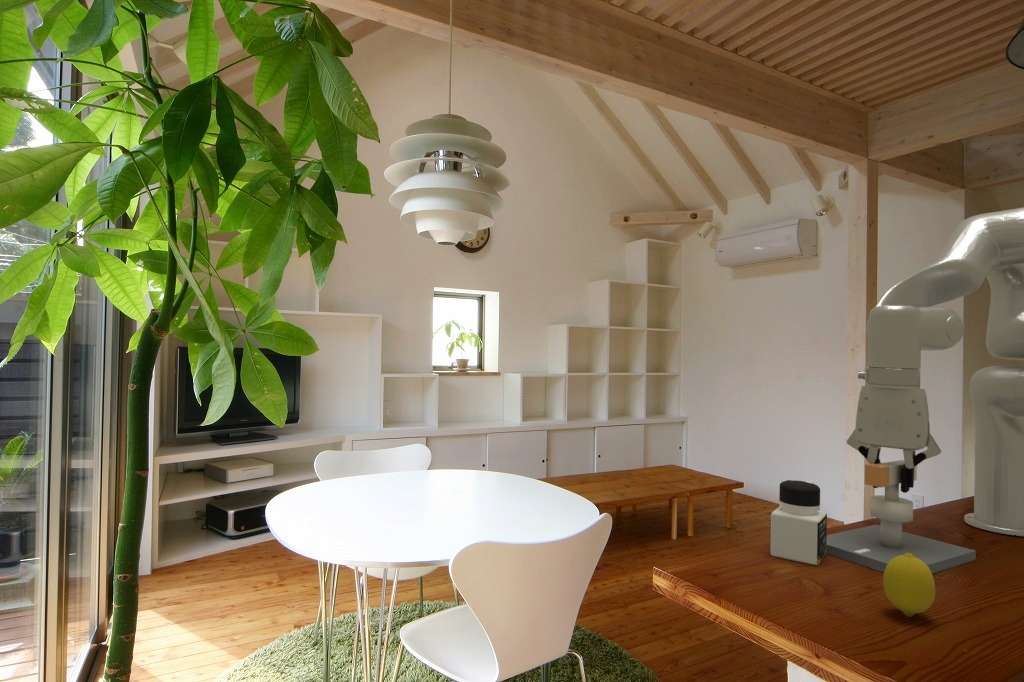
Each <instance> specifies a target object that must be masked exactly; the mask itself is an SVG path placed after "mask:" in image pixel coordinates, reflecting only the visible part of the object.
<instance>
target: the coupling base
mask: <svg viewBox="0 0 1024 682" xmlns="http://www.w3.org/2000/svg"><path fill="white" fill-rule="evenodd" d="M976 551H977V550H975V549H970V548H967V547H964V546H959V545H957V544H956V545H955V544H952V543H948V542H944V541H940V540H936V539H933V538H929V537H925V536H921V535H918V534H913V533H910V532H907V531H903V522H892V521H886V520H882V519H880V524H873V525H869V526H863V527H858V528H853V529H849V530H845V531H840V532H837V533H831V534H827V540H826V555H828V556H829V555H830V556H832V557H835V558H838V559H841V560H844V561H847V562H851V563H854V564H857V565H861V566H862V567H866V568H868V569H869V568H870V569H871V570H872V569H873V570H875V571H879V572H882V573H884V571H885V568H886V566H887V564H888V562H889V561H890V560H891V559H893V558H894V557H896V556H900V555H904V554H906V553H911V554H913V556H914V557H916V558H918V559H920V560H921V561H923V562H924V563H925V564H926V565H927V566H928V567H929V569H930V570H931V573H932V574H935V573H938V572H941V571H945V570H947V569H952V568H954V567H958V566H961V565H964V564H966V563H967V564H968V563H970V562H974V561H976V560H977V559H976V557H977V552H976Z"/></svg>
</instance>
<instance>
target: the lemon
mask: <svg viewBox="0 0 1024 682" xmlns="http://www.w3.org/2000/svg"><path fill="white" fill-rule="evenodd" d="M935 584H936V583H935V578H934V575H933V573H931V570H930V569H929V567H928V566H927V565H926V564H925V563H924V562H923V561H921V560H920V559H918V558H916V557H914V556H913V554H911V553H906V554H904V555H900V556H896V557H894V558H893V559H891V560H890V561H889V562H888V564H887V566H886V568H885V571H884V572H883V578H882V585H883V590H884V593H885V595H886V598H887V600H888V601H889V602H890V603H891V604H892V605H893V606H894V607H895V608H897V609H899V610H900V611H901V612H902V613H903V615H905V616H906V617H913V616H914V615H916V614H920V613H924V612H926V611H927V610H928V609H929V608H930V607H931V606H932V605H933V603H934V600H935V597H936V585H935Z"/></svg>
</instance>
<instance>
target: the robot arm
mask: <svg viewBox="0 0 1024 682" xmlns="http://www.w3.org/2000/svg"><path fill="white" fill-rule="evenodd" d="M986 280H987V282H988V283H989V287H990V302H989V303H990V304H989V312H988V318H987V319H988V320H987V325H986V333H985V335H986V337H985V345H986V346H985V347H986V349H987V352H988V353H989V354H990V355H991V356H992V357H994V358H998V359H1000V360H1008V361H1010V360H1011V361H1024V206H1023V207H1018V208H1012V209H1006V210H1005V209H1004V210H999V211H994V212H993V211H992V212H986V213H979V214H976V215H973V216H970V217H968V218H966V219H964V220H962V221H961V222H959V223H958V225H957V226H956V227H955V228H954V230H953V231H952V233H951V234H950V236H949V238H948V239H947V240H946V242H945V244H944V245H943V247H942V248H941V250H940V251H939V252H938V254H937V255H936V256H935V258H934V260H933V261H932V263H930V264H928V265H927V266H925V267H922V268H921V269H919V270H918V271H916V272H914V273H912V274H911V275H909V276H907V277H906V278H904V279H902V280H901V281H899V282H897V283H895V284H894V285H893V286H891V287H890V288H889V289H888V290H886V292H884V294H883V295H882V296H881V297H880V298H879V300H878V301H877V302H876V304H875V306H874V307H873V308H871V309H870V311H869V313H868V319H867V321H866V327H865V330H866V331H865V333H866V337H867V367H865V369H864V370H859V371H857V379H860V380H861V379H862V380H865V383H866V384H867V385H863V386H862V385H861V388H860V392H859V396H858V401H857V406H856V407H857V408H856V409H857V410H856V418H855V426H854V427H855V428H854V430H853V431H852V433H851V434H850V436H849V437H848V438H847V440H846V444H848V446H850V447H852V448H853V449H855V450H857V451H858V452H859V453H860V455H861V456H863V458H865V459H866V461H867V463H868V464H879V463H882V462H881V459H880V457H881V456H880V455H881V450H882V448H888V449H896V450H902V453H903V460H904V461H905V463H904V466H903V468H901V483H900V491H901V492H902V493H905V494H906V493H908V492H909V491H910V489H911V488H914V482H915V481H914V467H915V466H916V465H917V466H918V465H920V463H922V462H923V461H924V460H927V459H930V458H933V457H937V456H939V455H941V453H942V450H941V448H940V447H939V445H938V443H937V442H936V440H935V438H934V437H933V435H932V434H931V431H930V428H931V427H930V413H929V404H928V399H927V393H926V390H925V388H921V373H922V372H921V369H922V366H921V363H922V361H921V360H922V351H945V350H947V349H951V348H952V347H954V346H956V345H957V344H959V343H960V341H961V339H962V338H963V335H964V332H965V324H964V321H963V320H962V317H961V316H960V315H959V314H958V312H956V311H954V309H951V308H949V307H946V306H937V305H940V304H944V303H947V302H951V301H955V300H958V299H960V298H963V297H966V296H967V295H971V294H972V293H974V292H976V291H977V290H978V289H980V288H981V286H982V284H984V282H985V281H986ZM969 393H970V394H969V395H970V398H971V399H970V400H971V402H972V409H973V415H974V429H975V432H974V433H975V435H974V436H975V441H974V489H973V490H974V491H973V492H974V494H973V495H974V496H973V498H974V499H973V512H969V513H966V514H965V515H964V516H963V518H964V519H963V520H964V522H965V523H966V524H967V525H970V526H972V527H974V528H976V529H981V530H983V531H989V532H992V533H998V534H1002V535H1003V534H1004V535H1008V536H1015V535H1016V536H1017V537H1024V365H990V366H985V367H983V368H981V369H979V370H976V372H974V374H972V377H971V379H970V381H969ZM924 448H927V449H926V450H924V451H921V452H919V453H917V454H916V451H920V450H923V449H924ZM872 488H874V489H878V488H879V487H876V486H872Z"/></svg>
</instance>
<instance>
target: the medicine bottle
mask: <svg viewBox="0 0 1024 682" xmlns="http://www.w3.org/2000/svg"><path fill="white" fill-rule="evenodd" d="M778 492H779V496H778V497H779V500H778V501H779V502H778V503H779V506H778V507H776V508H775V510H773V511H772V512H771V514H770V548H769V549H770V555H771V556H772V557H775V558H780V559H785V560H790V561H795V562H798V563H799V562H800V563H804V564H808V565H812V566H819V564H820V563H821V561H822V560H823V559H824V557H825V556H826V555H827V554H826V540H827V535H828V534H827V531H828V527H827V526H828V513H827V512H826V511H824V510H820V509H821V488H820V487H819V485H817V484H815V483H813V482H811V481H806V480H801V479H800V480H799V479H789V480H788V479H787V480H784V481H781V482H780V483H779V491H778Z"/></svg>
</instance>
